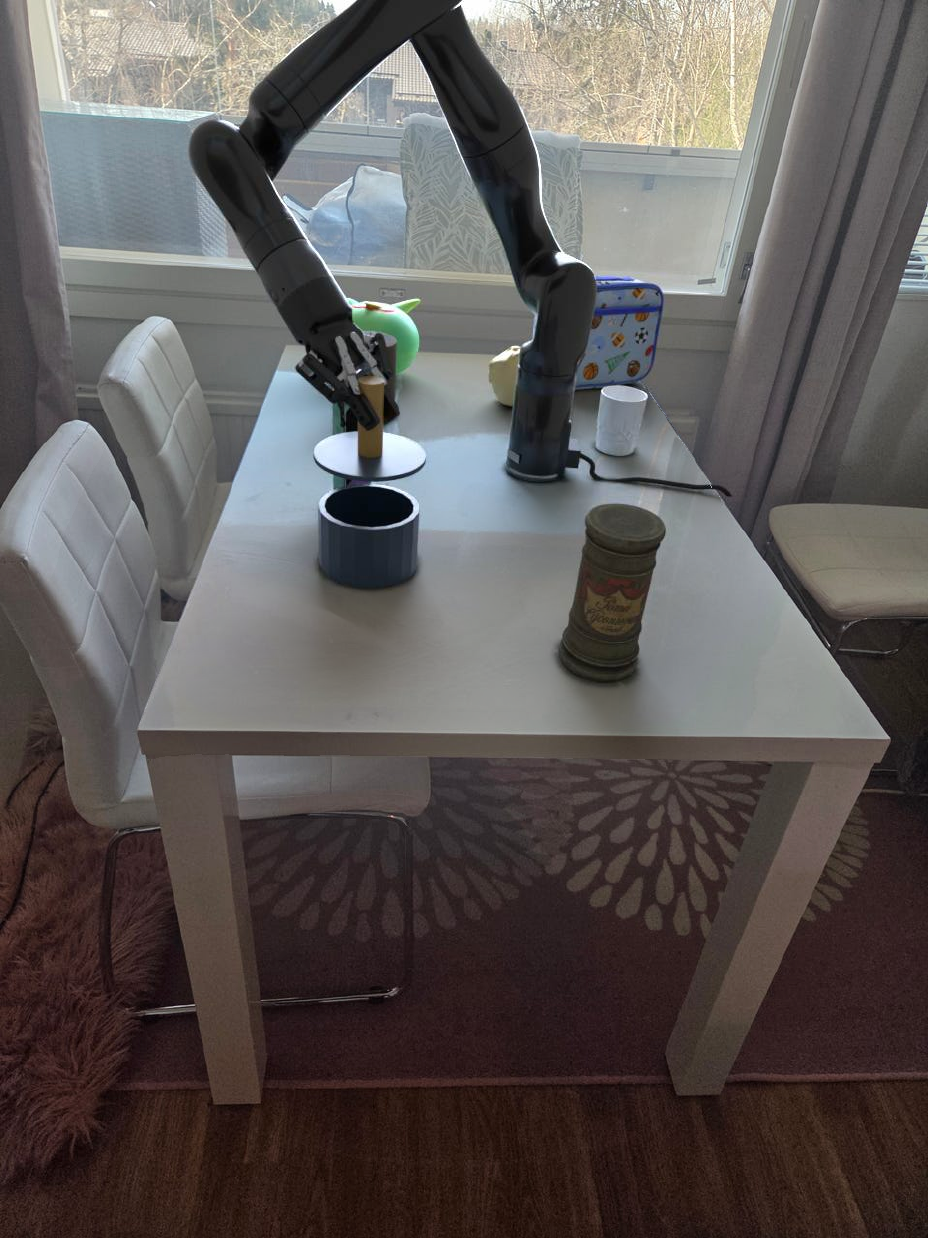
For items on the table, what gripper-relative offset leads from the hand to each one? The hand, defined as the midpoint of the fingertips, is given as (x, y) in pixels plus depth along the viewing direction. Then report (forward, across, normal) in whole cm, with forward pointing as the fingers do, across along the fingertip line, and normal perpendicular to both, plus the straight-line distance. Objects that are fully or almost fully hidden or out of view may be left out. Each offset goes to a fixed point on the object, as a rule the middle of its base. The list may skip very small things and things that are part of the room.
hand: (384, 422), depth 101 cm
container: (+36, +1, -8) cm, 37 cm away
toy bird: (-21, +58, +50) cm, 79 cm away
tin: (+13, 0, +16) cm, 20 cm away
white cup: (+17, +59, +12) cm, 63 cm away
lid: (+2, 0, +5) cm, 5 cm away
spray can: (+4, +12, +25) cm, 28 cm away
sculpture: (0, +66, +28) cm, 71 cm away
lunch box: (+3, +86, +26) cm, 90 cm away
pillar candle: (-11, +40, +40) cm, 57 cm away
